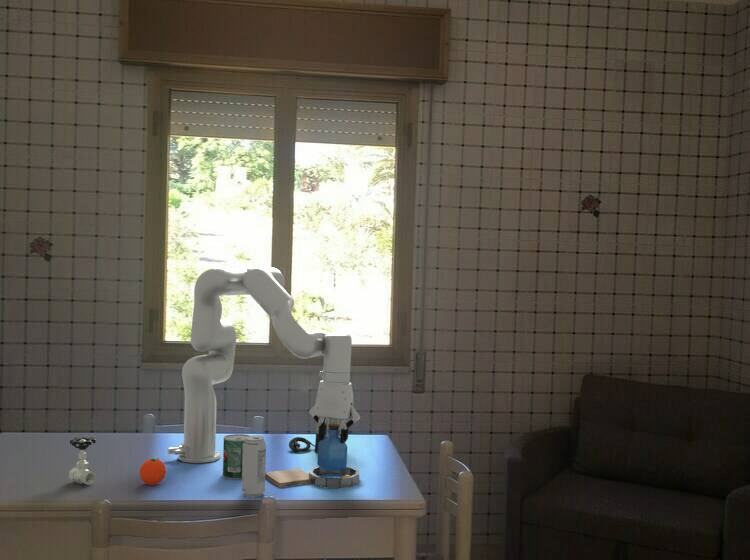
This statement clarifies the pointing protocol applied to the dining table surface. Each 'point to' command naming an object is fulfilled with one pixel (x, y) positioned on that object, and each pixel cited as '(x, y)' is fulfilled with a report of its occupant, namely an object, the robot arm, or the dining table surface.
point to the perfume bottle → (332, 450)
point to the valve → (82, 462)
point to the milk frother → (296, 447)
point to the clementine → (152, 471)
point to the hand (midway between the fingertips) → (333, 440)
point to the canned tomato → (233, 456)
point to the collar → (346, 479)
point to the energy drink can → (253, 466)
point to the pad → (288, 477)
